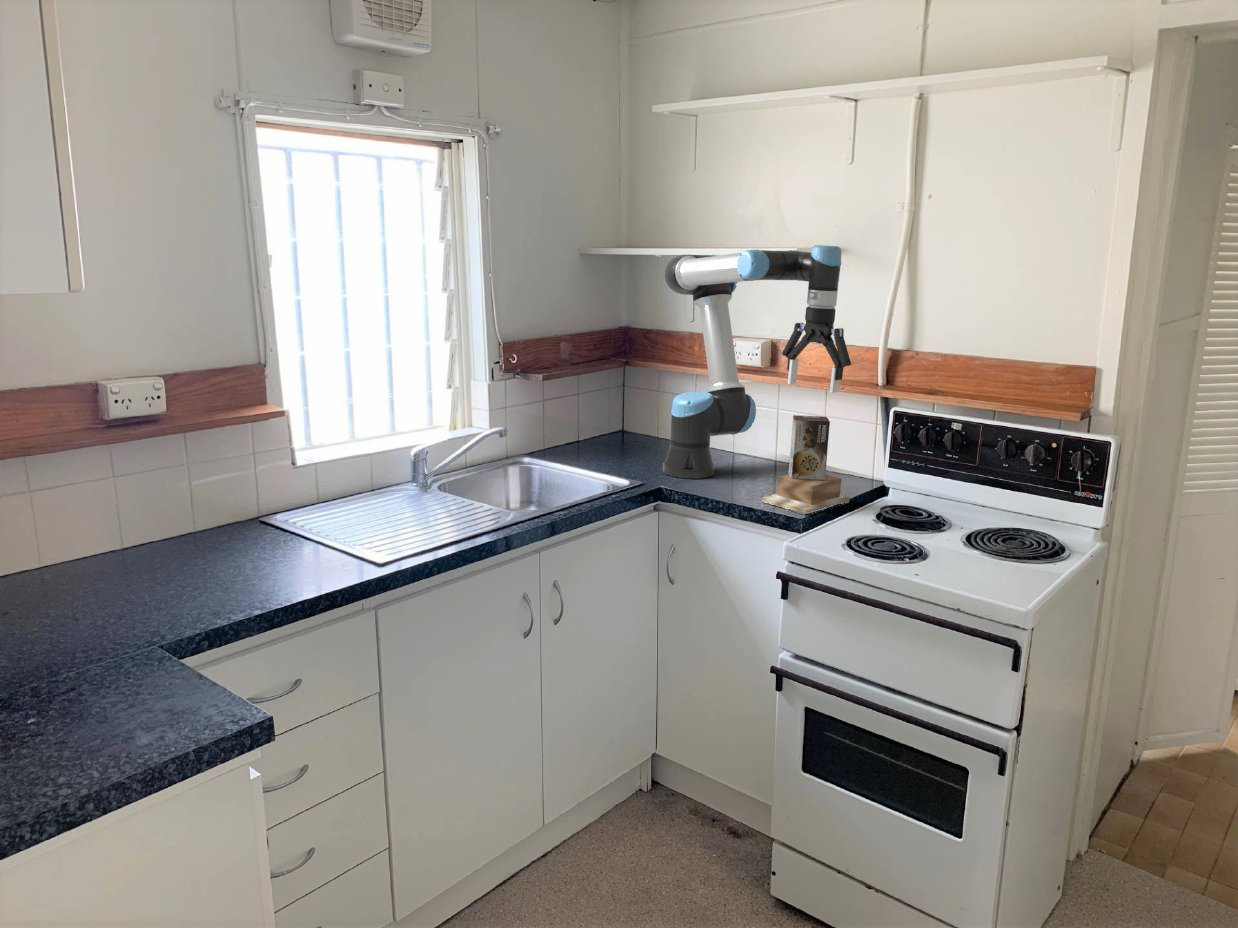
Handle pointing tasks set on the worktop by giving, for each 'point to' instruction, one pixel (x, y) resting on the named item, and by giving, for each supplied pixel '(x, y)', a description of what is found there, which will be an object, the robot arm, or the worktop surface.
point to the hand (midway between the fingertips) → (812, 388)
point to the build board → (802, 506)
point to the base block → (809, 489)
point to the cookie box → (809, 447)
